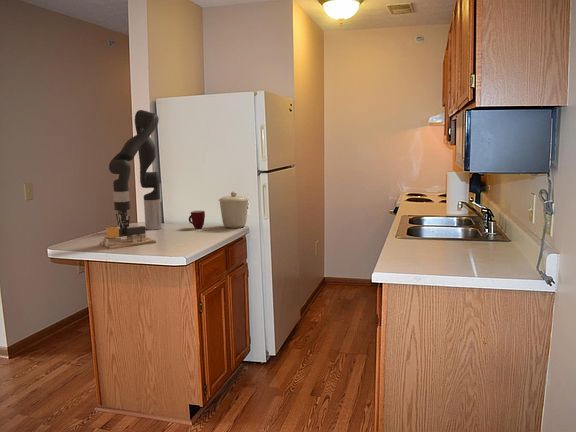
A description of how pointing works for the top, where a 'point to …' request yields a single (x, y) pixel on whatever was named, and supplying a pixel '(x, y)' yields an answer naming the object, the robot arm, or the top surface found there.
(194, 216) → the mug
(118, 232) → the grey and orange bar
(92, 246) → the top surface
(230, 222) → the canister
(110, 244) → the board
